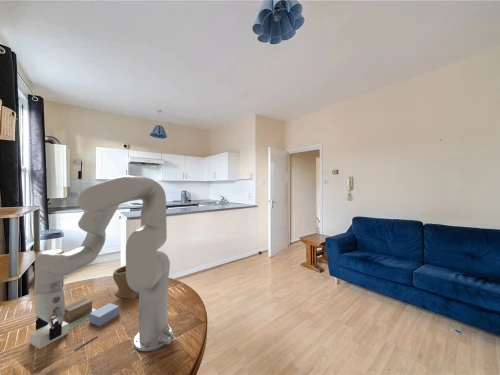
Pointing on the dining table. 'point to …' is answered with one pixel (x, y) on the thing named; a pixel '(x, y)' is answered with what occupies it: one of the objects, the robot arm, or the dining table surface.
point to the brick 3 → (104, 314)
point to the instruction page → (85, 344)
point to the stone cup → (123, 284)
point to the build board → (78, 321)
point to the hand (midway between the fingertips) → (48, 332)
